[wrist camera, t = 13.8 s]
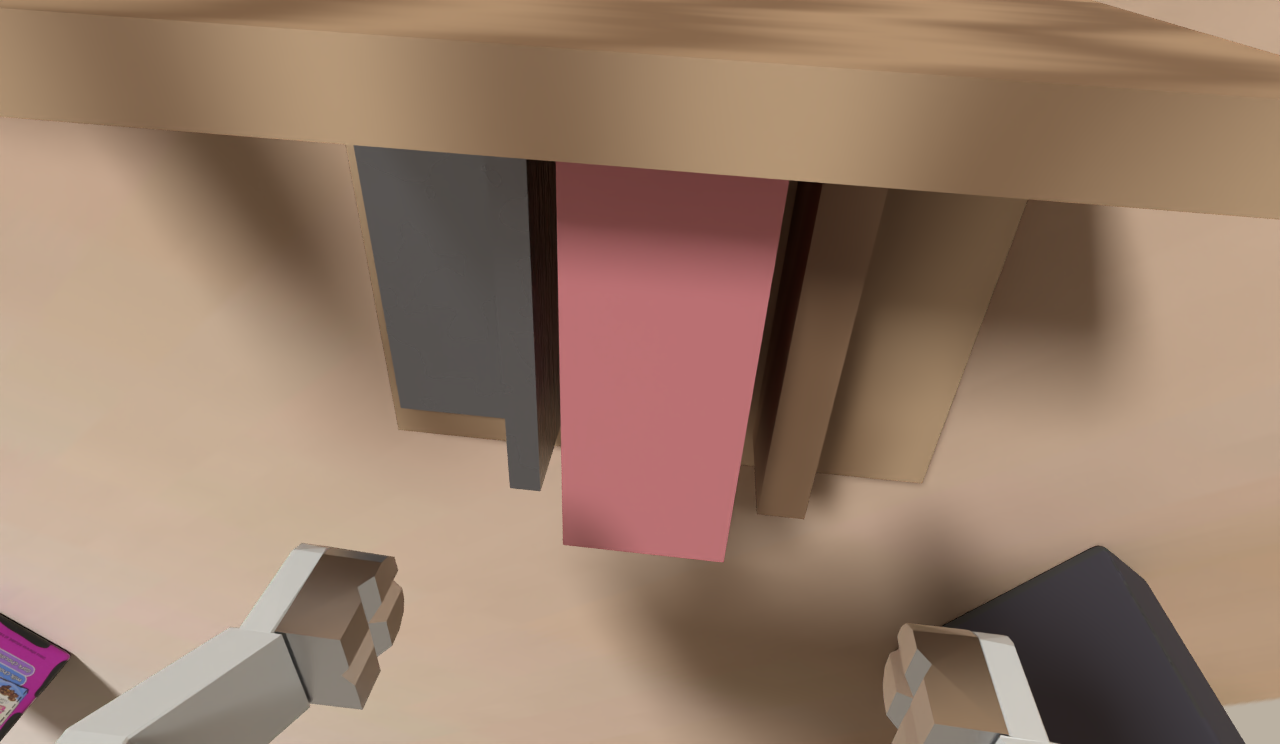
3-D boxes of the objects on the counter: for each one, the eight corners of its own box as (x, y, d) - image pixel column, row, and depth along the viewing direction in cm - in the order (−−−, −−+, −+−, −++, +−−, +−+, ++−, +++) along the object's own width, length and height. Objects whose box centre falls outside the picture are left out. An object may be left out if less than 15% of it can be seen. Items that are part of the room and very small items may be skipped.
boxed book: (770, 87, 19) (790, 171, 13) (723, 409, 25) (723, 562, 20) (606, 75, 19) (555, 152, 14) (599, 397, 26) (562, 544, 20)
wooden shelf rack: (1076, -5, 18) (1479, 113, 9) (913, 456, 28) (1018, 772, 18) (335, -53, 20) (-61, 4, 10) (412, 406, 29) (248, 677, 19)
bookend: (557, 32, 19) (521, 61, 16) (563, 415, 26) (540, 491, 23) (339, 16, 19) (259, 42, 16) (405, 399, 27) (360, 471, 23)
